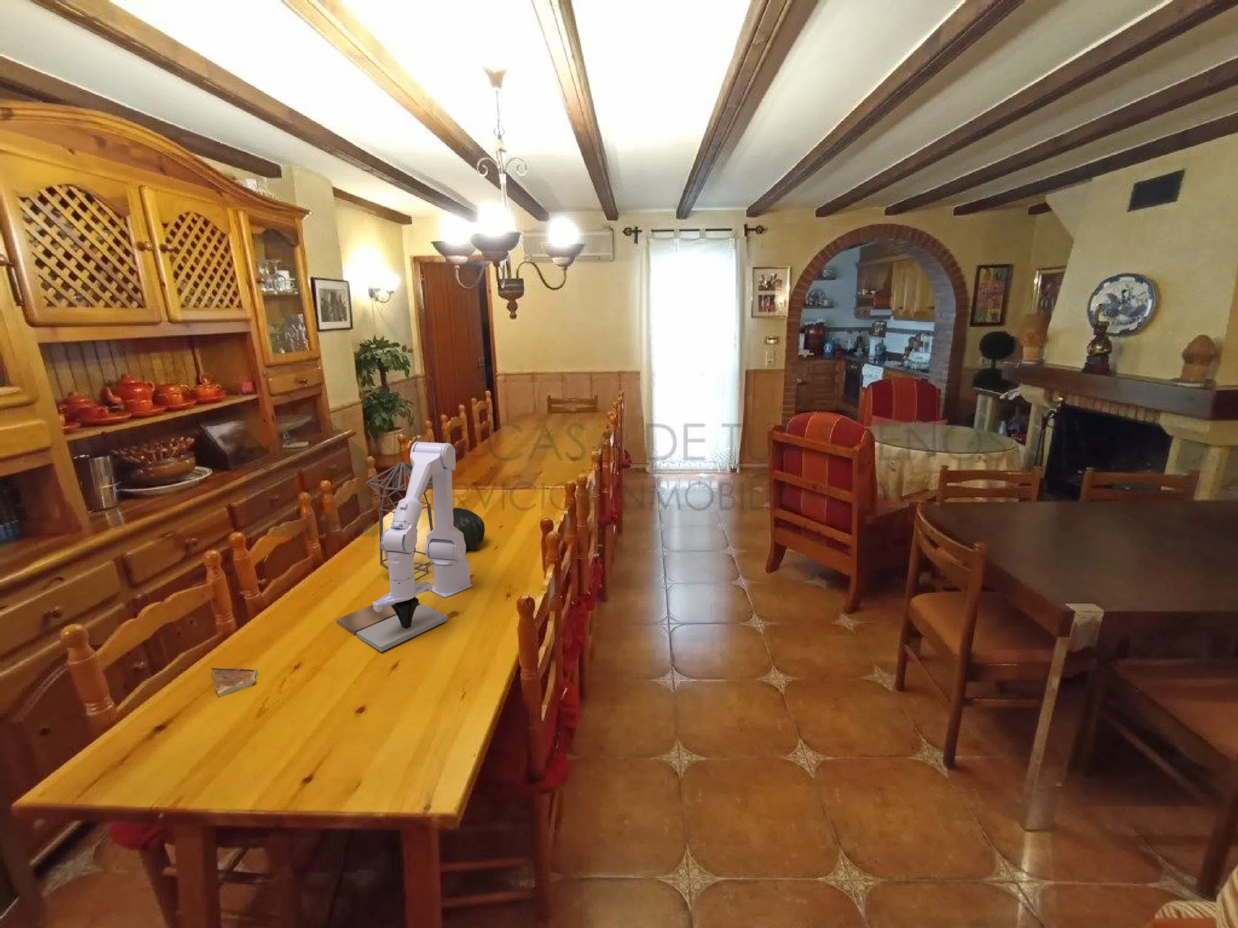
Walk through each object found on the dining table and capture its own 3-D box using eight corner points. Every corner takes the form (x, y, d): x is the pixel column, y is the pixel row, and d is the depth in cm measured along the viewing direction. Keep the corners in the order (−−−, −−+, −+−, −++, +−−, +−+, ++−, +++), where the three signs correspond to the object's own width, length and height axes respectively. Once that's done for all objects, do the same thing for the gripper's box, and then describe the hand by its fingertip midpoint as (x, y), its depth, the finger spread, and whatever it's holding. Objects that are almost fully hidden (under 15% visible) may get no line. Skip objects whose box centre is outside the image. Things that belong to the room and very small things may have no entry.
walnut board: (401, 596, 154) (401, 593, 154) (420, 607, 149) (420, 603, 148) (336, 623, 140) (336, 619, 140) (354, 635, 135) (354, 631, 134)
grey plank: (422, 608, 148) (422, 603, 148) (447, 620, 141) (447, 615, 141) (356, 636, 134) (356, 632, 134) (381, 651, 127) (380, 647, 127)
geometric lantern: (370, 579, 164) (360, 464, 156) (412, 561, 178) (404, 454, 170) (408, 591, 157) (399, 471, 149) (449, 571, 170) (442, 460, 163)
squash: (498, 525, 194) (468, 493, 191) (484, 543, 179) (451, 509, 177) (470, 548, 197) (441, 517, 195) (454, 567, 183) (422, 534, 181)
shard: (212, 674, 120) (210, 666, 120) (253, 661, 125) (252, 654, 125) (217, 699, 112) (215, 692, 112) (261, 684, 117) (260, 677, 117)
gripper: (419, 561, 141) (422, 609, 144) (364, 581, 130) (369, 633, 133) (435, 569, 137) (438, 618, 140) (380, 590, 126) (385, 643, 129)
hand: (406, 626), depth 136 cm, fingers closed, pressing on grey plank
